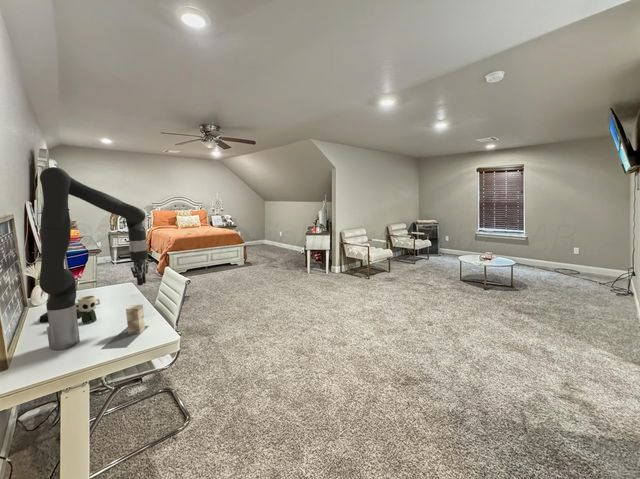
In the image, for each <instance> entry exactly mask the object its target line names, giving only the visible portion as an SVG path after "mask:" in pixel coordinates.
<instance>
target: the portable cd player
mask: <svg viewBox="0 0 640 479" xmlns="http://www.w3.org/2000/svg"><path fill="white" fill-rule="evenodd" d="M78 307H79V306H78V305H76V308H78ZM82 312H83V311H80V310H79V309H78V310H76V313H77V320H79V319H82ZM38 322H39V324H43V323H44V324H46V323H49V321H48V314H47V311H46V312H45V313H43V314H41V315H40V316H39V321H38Z"/></svg>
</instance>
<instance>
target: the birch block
mask: <svg viewBox="0 0 640 479" xmlns="http://www.w3.org/2000/svg"><path fill="white" fill-rule="evenodd" d="M125 314H126V323H127V324H126V325H127V327H128V334H137V333H141V332H142V331H143V330H144V329H145V326H146V325H145V316H144V305H143V304H133V305H130V306H128V307H127V308H126V309H125ZM145 330H146V329H145ZM145 330H144V331H145ZM144 331H143V332H144ZM143 332H142V333H143ZM142 333H141V334H142Z"/></svg>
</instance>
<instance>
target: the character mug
mask: <svg viewBox="0 0 640 479" xmlns="http://www.w3.org/2000/svg"><path fill="white" fill-rule="evenodd" d="M75 305H78V306H79V307H78V308H76V310H78V309H79V310H80V311H83V312H82V317H81V323H82V324H90V323H91V322H92V323H93V322H95V321H96V322H97V315H96V311H95V309H96V308H97V306H99V305H101V298H96V296H95V295H86V296H82V297H78V298H77V302H75Z"/></svg>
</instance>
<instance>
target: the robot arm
mask: <svg viewBox="0 0 640 479" xmlns="http://www.w3.org/2000/svg"><path fill="white" fill-rule="evenodd" d="M39 181H40V185H41V191H42V197H43V204H42V210H41V216H40V250H41V251H40V252H41V253H40V254H41V255H40V256H41V260H40V262H41V264H40V273H39V279H38V280H39V281H38V284H39V288H40V290H41V291H42V292H44V293H45V294H48V295H49V296H48V297H49V298H48V299H47V301H46V305H45V306H46V312H47V314H48V321H49V322H48V326H47V327H46V331H47V332H46V334H47V341H48V346H49V349H50V350H53V351H54V350H55V351H61V350H65V349H66V350H67V349H69V348H72V347H75V346H76V345H77V344H79V343H80V342H81V338H80V331H79V330H80V329H79V323H78V321H79V320H78V319H77V313H76V305H75V303H76V298H77V286H76V283H77V282H76V278H75V275H74V273H73V272H72V270H70V269H68V268H65V259H66V254H67V252H68V248H69V247H70V246H69V245H70V243H71V236H72V235H71V233H72V231H71V230H72V227H71V216H70V209H69V196H73V197H75V198H77V199H80V200H82V201H85V202H86V203H88V204H90V205H93V206H94V207H97V208H98V209H100V210H103V211H106V212H107V213H110V214H111V215H116V216H119V217H121V218H123V219H125V223H126V227H127V231H128V250H129V259H130V261H133V266H132V267H130V270H131V273H132V275H133V278H136V283H137V286H143V285H144V284H146V283H147V281H146V279H147V278H146V276H147V274H148V272H149V271H148V270H149V263H150V262H149V261H146V260H147V259H149V251H148V242H147V234H146V230H145V229H144V225H143V222H144V221H145V219H146V216H147V215H146V213H145V211H144V210H143V209H141V208H140V207H137V206H134V205H132V204H128V203H127V202H124V201H122V200H121V199H119V198H116V197H115V196H112V195H110V194H108V193H105V192H104V191H101V190H98V189H96V188H93V187H90V186H88V185H86V184H83V183H81V182H79V181H78V180H76V179H74V178H73V177H71V176H70V174H69V173H68V172H67V171H65V170H64V169H62V168H59V167H47V168H45V169H43V170H42V171H41V172H40V174H39Z"/></svg>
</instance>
